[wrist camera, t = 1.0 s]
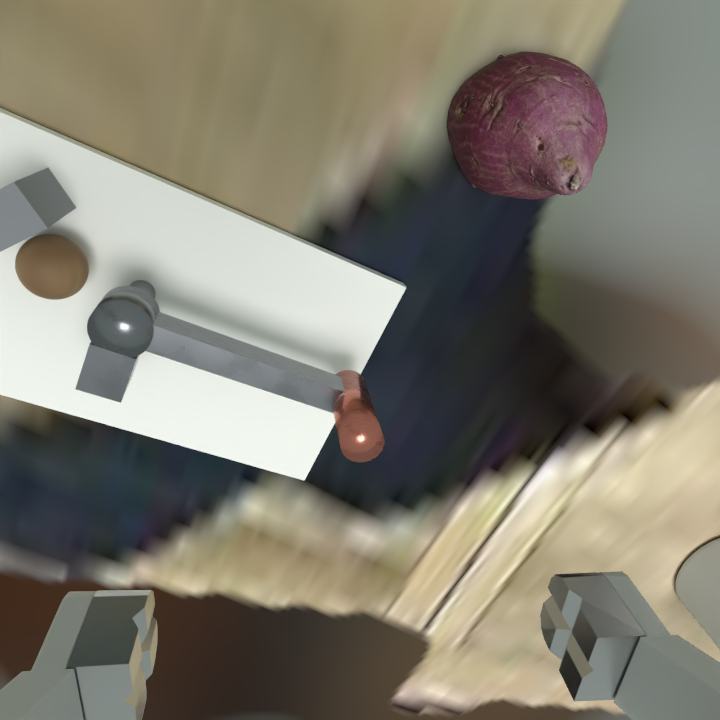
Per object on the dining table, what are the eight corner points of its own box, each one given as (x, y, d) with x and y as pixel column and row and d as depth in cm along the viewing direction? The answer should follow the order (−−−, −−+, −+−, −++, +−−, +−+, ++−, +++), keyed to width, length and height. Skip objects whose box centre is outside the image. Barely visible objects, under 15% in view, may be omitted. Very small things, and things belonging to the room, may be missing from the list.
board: (-71, 365, 44) (-127, 413, 38) (-17, 100, 37) (-75, 105, 30) (303, 472, 54) (309, 525, 48) (403, 282, 47) (425, 314, 41)
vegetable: (495, 203, 49) (553, 308, 38) (416, 121, 43) (456, 216, 32) (602, 109, 44) (704, 198, 33) (527, 5, 38) (619, 69, 28)
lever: (82, 362, 41) (44, 422, 34) (110, 275, 38) (75, 320, 31) (336, 442, 47) (349, 506, 40) (374, 372, 45) (395, 427, 38)
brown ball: (22, 273, 41) (-4, 294, 37) (37, 216, 39) (12, 232, 35) (87, 296, 42) (69, 318, 38) (103, 242, 41) (86, 260, 37)
